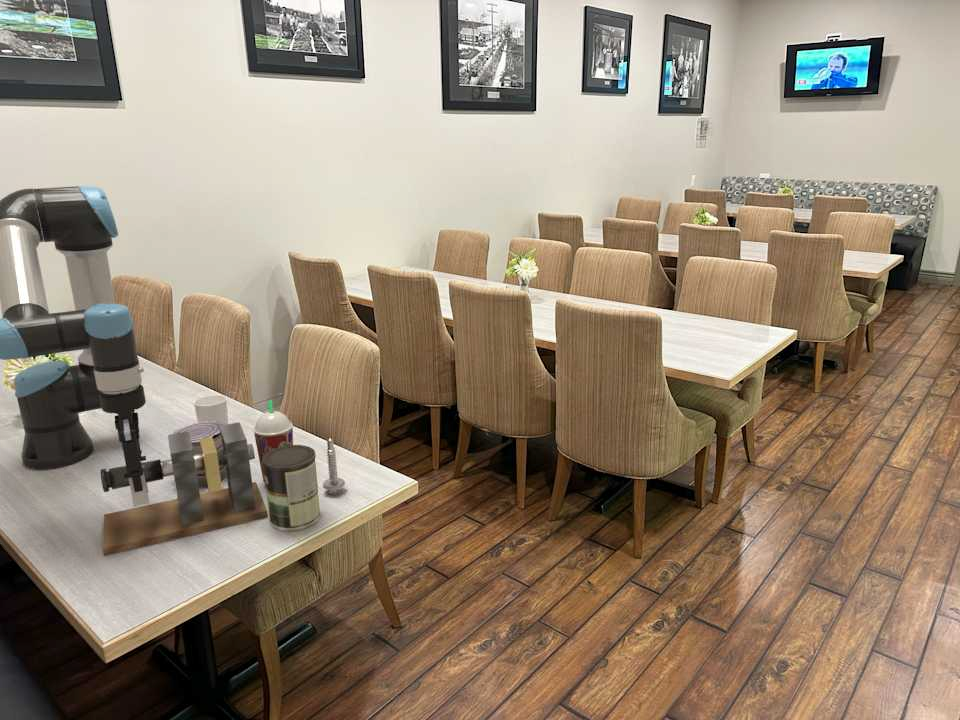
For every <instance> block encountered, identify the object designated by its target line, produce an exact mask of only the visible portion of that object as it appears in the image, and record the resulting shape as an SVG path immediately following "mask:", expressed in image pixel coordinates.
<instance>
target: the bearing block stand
mask: <svg viewBox="0 0 960 720" xmlns="http://www.w3.org/2000/svg"><path fill="white" fill-rule="evenodd" d="M220 433H221V440H222V447H223V449H226V457H227V465H225V468H226V475H227V478H226V481H227V487H225V488H222V490H220V491H216V492H211V493H209V491H207V492H203V493H200V488H199V486H198V479H197V473H196V466H195V460H194V453H193V448H192V443H191V439H190V434H189V431H187V432H182V433H176V434H173V433H172V434H167V441H168V446H169V453H170V459H171V460H172V466H173V472H174V475H173V476H174V483H175V489H176V496H177V498H174V499H171V500H165V501H160V502H156V503H151V504H150V503H149V504H148V505H147V504H145V505H140V506H135V507H133V508H128V509H123V510H118V511H114V512H109V513H105V514H103V527H102V528H103V529H102V547H101V550H102V555H103V556H105V557H106V556H108V555H113V554H119V553H122V552H126V551H130V550H135V549H138V548H139V549H140V548H142V547H147V546H150V545H151V546H152V545H155V544H159V543H163V542H168V541H172V540H176V539H181V538H184V537H190V536H193V535H197V534H201V533H205V532H206V533H207V532H211V531H215V530H219V529H224V528H227V527H230V526H232V527H233V526H235V525H238V524H244V523H247V522H252V521H256V520H261V519H265V518H269V512H268V509H267V506H266V504H265V502H264V499H263V496H262V494H261V492H260V489H259V487H258V484H257V482H256V481H254V482H253V479H252V470H251V464H250V463H251V461H250V460H249V454H248V446H247V445H248V440H247V437H246V434H245V432H244V430H243V428H242V424H241V422H239V421H238V422H233V423H228V424H227V425H221V426H220Z"/></svg>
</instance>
